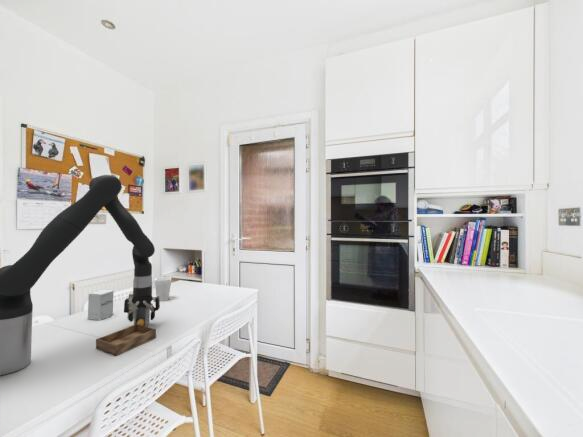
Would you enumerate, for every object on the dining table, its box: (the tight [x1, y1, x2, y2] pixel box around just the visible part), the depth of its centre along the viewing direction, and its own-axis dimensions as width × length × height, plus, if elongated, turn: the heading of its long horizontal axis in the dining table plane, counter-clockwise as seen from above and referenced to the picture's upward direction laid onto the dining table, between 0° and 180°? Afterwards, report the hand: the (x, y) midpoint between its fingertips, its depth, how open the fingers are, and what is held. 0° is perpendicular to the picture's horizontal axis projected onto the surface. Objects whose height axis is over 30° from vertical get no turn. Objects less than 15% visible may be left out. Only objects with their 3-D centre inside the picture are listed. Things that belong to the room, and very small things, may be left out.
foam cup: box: [154, 276, 172, 302], centre depth 154 cm, size 10×9×13 cm
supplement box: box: [87, 289, 114, 321], centre depth 125 cm, size 7×7×13 cm
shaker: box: [133, 307, 151, 327], centre depth 115 cm, size 5×5×8 cm
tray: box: [95, 324, 157, 357], centre depth 99 cm, size 16×12×4 cm
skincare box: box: [127, 291, 138, 320], centre depth 126 cm, size 6×4×12 cm
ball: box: [137, 319, 145, 325], centre depth 114 cm, size 3×3×3 cm
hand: (141, 320), depth 115 cm, fingers open, 8 cm apart
